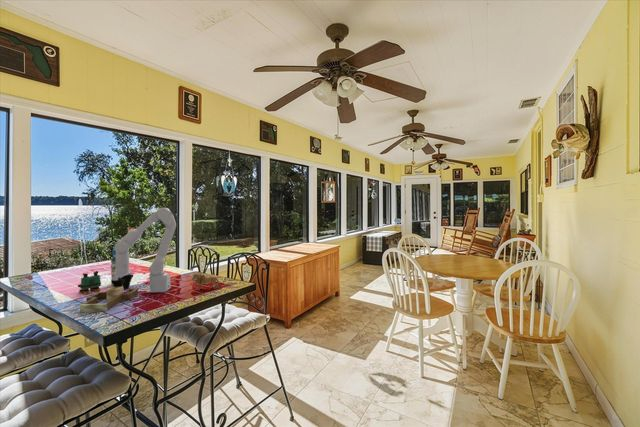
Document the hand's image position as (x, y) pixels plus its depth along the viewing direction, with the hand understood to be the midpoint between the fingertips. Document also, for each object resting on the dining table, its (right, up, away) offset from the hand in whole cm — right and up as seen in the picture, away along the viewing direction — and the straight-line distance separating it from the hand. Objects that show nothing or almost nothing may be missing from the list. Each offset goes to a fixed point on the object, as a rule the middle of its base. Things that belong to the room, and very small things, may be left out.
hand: (122, 290), depth 149 cm
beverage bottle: (-14, -1, +18) cm, 23 cm away
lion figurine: (+39, -2, +10) cm, 40 cm away
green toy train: (-20, -1, +3) cm, 20 cm away
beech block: (+1, -2, -7) cm, 7 cm away
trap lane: (+2, -2, -11) cm, 11 cm away
